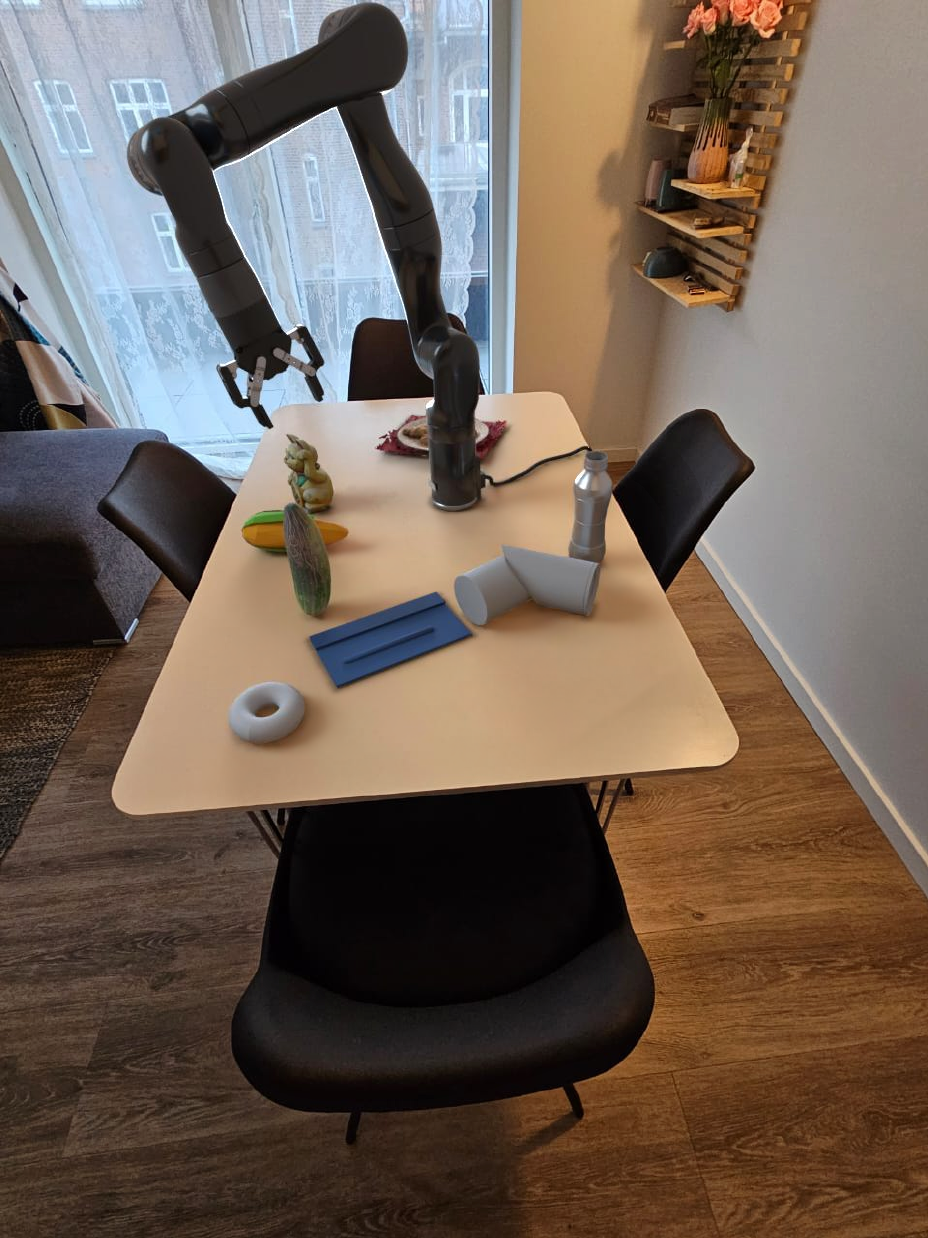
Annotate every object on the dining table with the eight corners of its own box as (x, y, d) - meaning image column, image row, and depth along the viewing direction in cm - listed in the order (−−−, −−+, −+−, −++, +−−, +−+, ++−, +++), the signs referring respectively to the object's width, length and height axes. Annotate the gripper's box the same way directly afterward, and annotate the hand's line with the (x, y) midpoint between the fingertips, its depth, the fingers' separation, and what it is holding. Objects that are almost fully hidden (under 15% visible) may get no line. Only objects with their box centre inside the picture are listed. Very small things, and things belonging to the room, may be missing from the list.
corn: (243, 501, 120) (349, 501, 118) (254, 534, 125) (356, 535, 124) (230, 524, 114) (341, 524, 113) (242, 558, 120) (348, 559, 118)
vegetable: (318, 596, 109) (294, 489, 97) (347, 607, 107) (327, 498, 94) (293, 616, 105) (265, 507, 93) (323, 627, 103) (299, 517, 90)
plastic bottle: (607, 554, 116) (620, 449, 103) (600, 575, 111) (613, 467, 98) (571, 548, 118) (580, 444, 105) (563, 569, 113) (571, 462, 100)
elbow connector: (538, 552, 115) (447, 596, 106) (550, 505, 107) (452, 549, 98) (608, 616, 106) (516, 670, 97) (627, 571, 98) (528, 625, 89)
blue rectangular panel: (436, 595, 108) (436, 590, 107) (471, 635, 100) (471, 630, 99) (310, 640, 100) (308, 635, 100) (337, 688, 92) (335, 682, 91)
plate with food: (481, 467, 145) (481, 452, 143) (375, 453, 151) (373, 439, 149) (507, 426, 162) (508, 413, 160) (411, 415, 169) (411, 402, 166)
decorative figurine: (287, 503, 135) (270, 433, 125) (321, 489, 139) (308, 421, 129) (310, 520, 129) (295, 449, 120) (345, 505, 133) (334, 435, 124)
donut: (310, 691, 92) (239, 696, 91) (306, 673, 90) (233, 678, 89) (303, 746, 84) (224, 752, 84) (298, 728, 82) (217, 734, 81)
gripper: (197, 328, 82) (260, 442, 92) (293, 280, 86) (345, 395, 96) (184, 323, 88) (246, 431, 98) (276, 278, 91) (326, 387, 101)
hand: (295, 413), depth 97 cm, fingers open, 8 cm apart
